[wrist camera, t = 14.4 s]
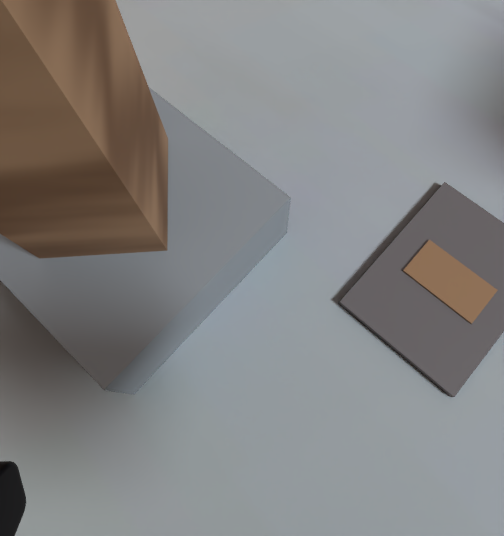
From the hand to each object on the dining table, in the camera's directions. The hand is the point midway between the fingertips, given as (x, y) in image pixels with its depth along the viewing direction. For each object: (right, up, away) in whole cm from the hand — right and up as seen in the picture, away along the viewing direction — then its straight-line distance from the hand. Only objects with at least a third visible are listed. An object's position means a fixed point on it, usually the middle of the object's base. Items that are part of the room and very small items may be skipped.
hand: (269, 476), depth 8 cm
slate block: (-6, +5, +14) cm, 16 cm away
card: (+9, +3, +12) cm, 15 cm away
